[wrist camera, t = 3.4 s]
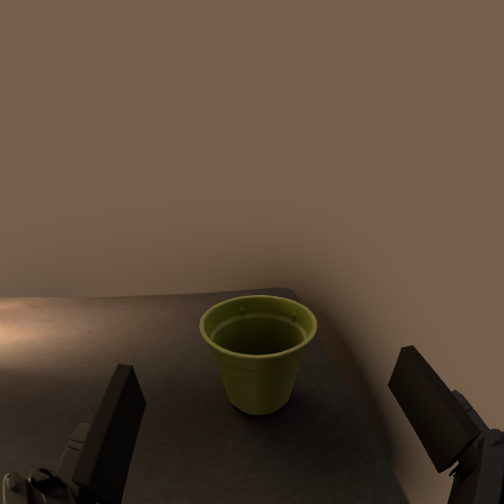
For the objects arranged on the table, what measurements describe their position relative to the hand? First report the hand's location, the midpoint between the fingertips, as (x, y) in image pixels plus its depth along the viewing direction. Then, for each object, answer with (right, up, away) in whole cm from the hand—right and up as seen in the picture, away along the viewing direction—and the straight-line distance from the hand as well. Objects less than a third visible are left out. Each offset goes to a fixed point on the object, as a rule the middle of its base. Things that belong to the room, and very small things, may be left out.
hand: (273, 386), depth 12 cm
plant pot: (0, -8, +13) cm, 15 cm away
